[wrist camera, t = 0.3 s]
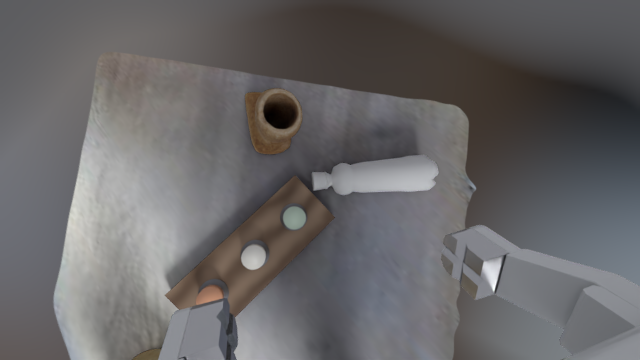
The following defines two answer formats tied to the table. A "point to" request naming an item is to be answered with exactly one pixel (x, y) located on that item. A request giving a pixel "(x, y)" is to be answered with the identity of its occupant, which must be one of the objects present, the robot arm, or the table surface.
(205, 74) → the table surface
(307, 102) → the table surface
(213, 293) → the button terracotta
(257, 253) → the button cream
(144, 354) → the ceramic vessel
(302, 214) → the button sage
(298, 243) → the button panel
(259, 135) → the stone cup
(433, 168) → the bottle
